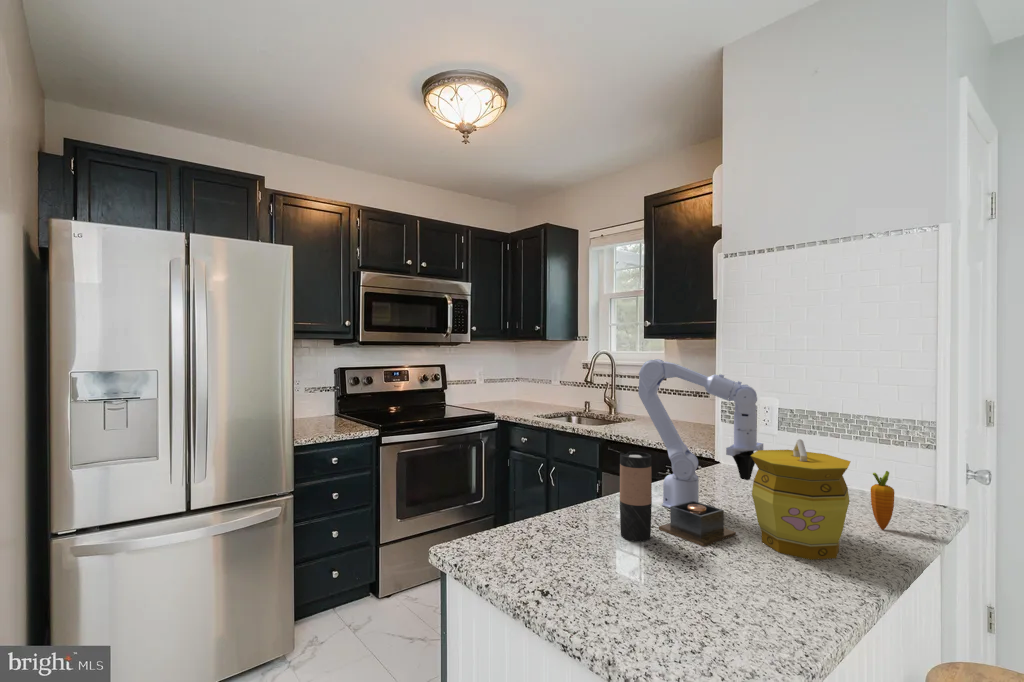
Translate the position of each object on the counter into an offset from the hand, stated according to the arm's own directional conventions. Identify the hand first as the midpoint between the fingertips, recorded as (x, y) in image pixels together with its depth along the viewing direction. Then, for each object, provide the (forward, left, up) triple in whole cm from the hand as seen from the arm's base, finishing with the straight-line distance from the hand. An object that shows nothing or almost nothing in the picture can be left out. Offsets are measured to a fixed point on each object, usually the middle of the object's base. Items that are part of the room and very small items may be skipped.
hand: (745, 479), depth 137 cm
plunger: (0, -21, -9) cm, 23 cm away
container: (+19, -8, -11) cm, 23 cm away
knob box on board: (0, -21, -10) cm, 23 cm away
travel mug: (-6, -36, -11) cm, 38 cm away
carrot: (+25, +21, -11) cm, 34 cm away
